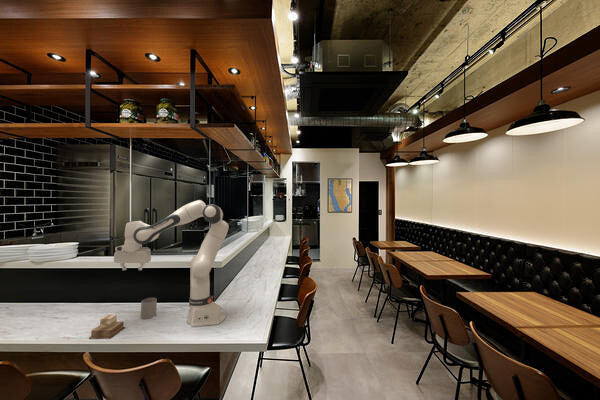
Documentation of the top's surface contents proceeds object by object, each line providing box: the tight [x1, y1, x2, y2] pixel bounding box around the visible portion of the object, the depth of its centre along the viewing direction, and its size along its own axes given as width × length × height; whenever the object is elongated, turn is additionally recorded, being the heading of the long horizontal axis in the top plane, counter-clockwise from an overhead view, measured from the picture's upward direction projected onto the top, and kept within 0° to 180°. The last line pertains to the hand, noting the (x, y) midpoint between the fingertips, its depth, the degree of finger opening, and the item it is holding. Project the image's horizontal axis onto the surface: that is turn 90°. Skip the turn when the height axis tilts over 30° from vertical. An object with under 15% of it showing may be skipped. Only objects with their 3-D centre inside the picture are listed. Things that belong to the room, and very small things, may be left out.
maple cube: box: [99, 314, 117, 328], centre depth 133 cm, size 5×5×5 cm
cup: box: [140, 297, 158, 320], centre depth 155 cm, size 8×8×10 cm
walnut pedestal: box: [88, 320, 126, 340], centre depth 133 cm, size 11×11×4 cm
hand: (132, 270), depth 147 cm, fingers open, 8 cm apart
